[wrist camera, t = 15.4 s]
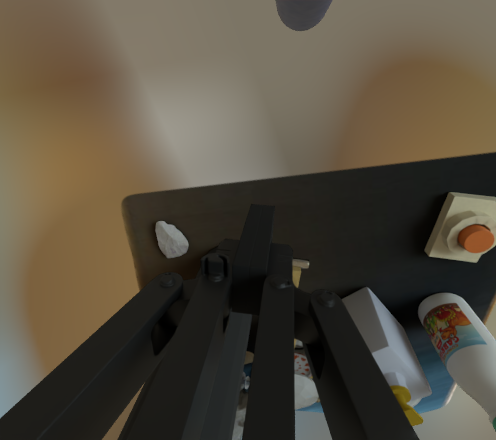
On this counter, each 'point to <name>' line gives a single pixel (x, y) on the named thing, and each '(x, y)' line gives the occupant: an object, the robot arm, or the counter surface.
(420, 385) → the soap bottle
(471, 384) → the milk bottle
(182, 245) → the stone
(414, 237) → the counter surface
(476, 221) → the button block
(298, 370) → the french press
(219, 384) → the vase
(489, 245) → the button
